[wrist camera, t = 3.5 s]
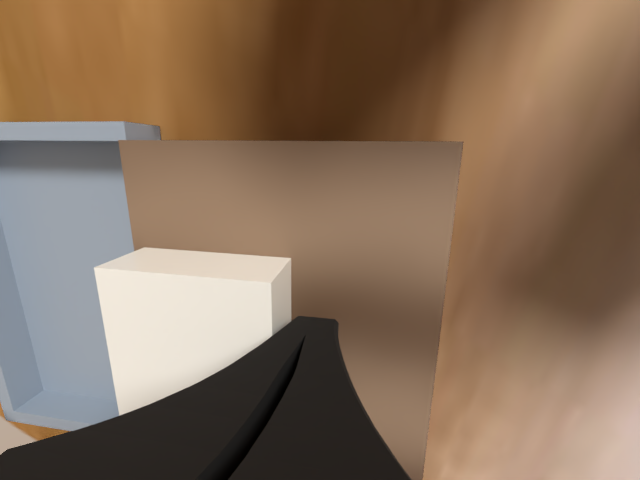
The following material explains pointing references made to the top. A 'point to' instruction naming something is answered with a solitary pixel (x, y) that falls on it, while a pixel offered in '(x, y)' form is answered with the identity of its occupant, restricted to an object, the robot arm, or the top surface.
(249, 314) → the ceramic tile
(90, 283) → the tray
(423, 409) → the walnut board
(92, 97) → the top surface
